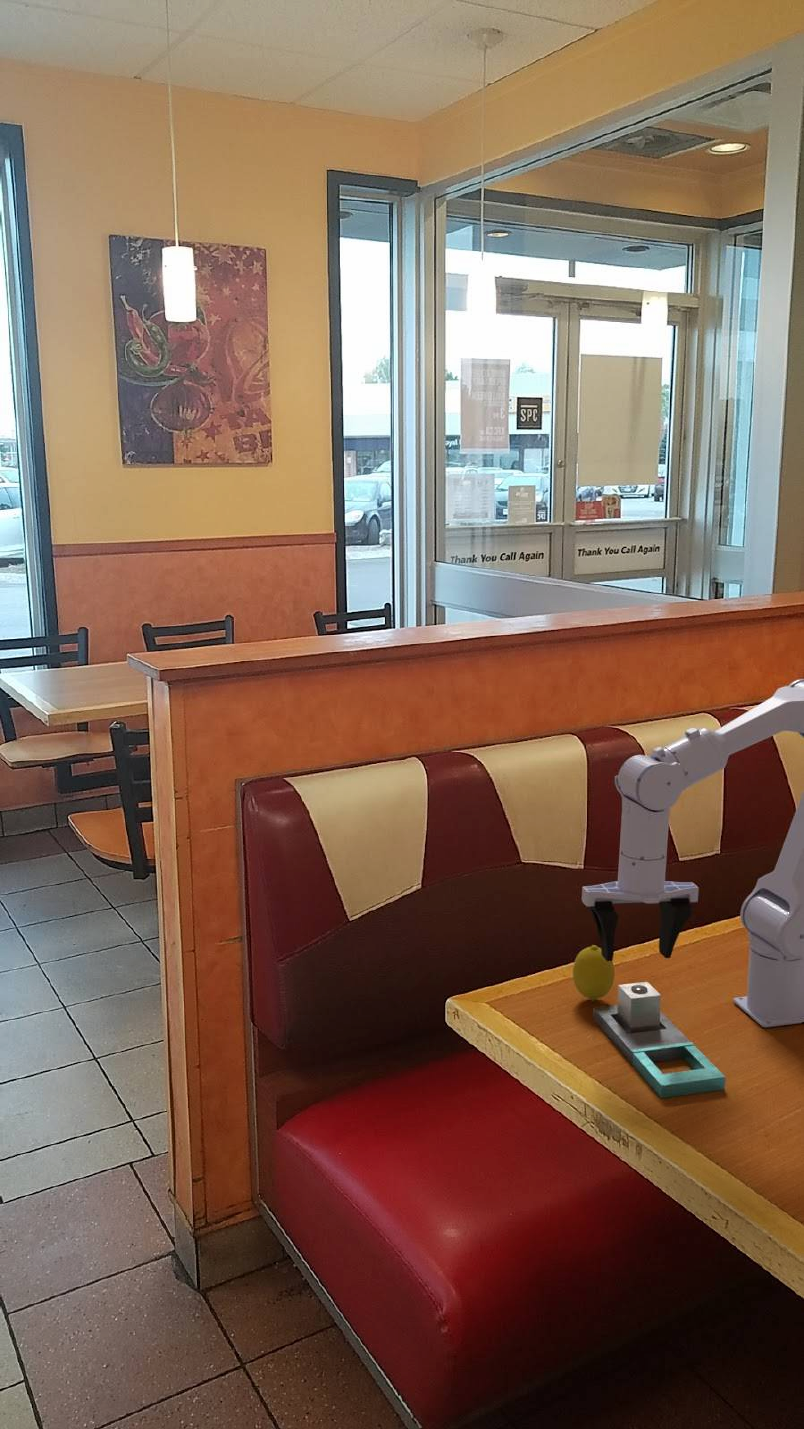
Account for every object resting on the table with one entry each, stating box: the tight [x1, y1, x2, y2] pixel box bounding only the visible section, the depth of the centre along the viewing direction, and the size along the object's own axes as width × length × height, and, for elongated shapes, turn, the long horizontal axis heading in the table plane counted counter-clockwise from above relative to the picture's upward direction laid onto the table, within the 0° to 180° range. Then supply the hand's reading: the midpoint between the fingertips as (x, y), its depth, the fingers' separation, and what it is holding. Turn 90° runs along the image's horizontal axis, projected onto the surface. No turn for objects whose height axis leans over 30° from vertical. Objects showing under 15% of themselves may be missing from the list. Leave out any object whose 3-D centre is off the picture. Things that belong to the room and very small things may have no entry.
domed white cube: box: [617, 981, 662, 1034], centre depth 144 cm, size 4×4×6 cm
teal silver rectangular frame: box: [592, 1004, 726, 1099], centre depth 139 cm, size 8×20×2 cm, turn 13°
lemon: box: [572, 944, 615, 1002], centre depth 153 cm, size 6×6×8 cm
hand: (636, 956), depth 142 cm, fingers open, 7 cm apart
